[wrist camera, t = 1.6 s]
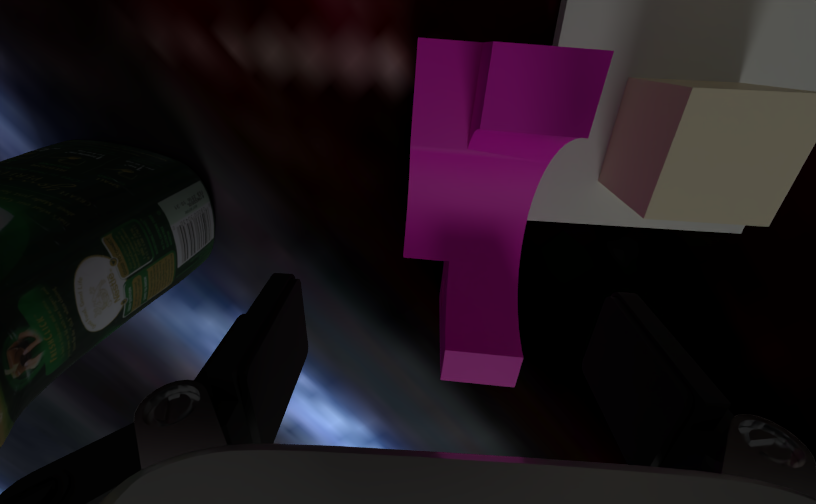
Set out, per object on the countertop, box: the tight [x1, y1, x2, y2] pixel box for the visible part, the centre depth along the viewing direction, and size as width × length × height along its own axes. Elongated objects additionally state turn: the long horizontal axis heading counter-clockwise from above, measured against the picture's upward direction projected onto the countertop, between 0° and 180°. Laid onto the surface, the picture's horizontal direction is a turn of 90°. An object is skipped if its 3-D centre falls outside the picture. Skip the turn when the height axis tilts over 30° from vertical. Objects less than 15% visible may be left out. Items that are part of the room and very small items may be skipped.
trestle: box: [527, 0, 816, 234], centre depth 14 cm, size 12×20×6 cm, turn 178°
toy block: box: [403, 37, 614, 387], centre depth 19 cm, size 15×6×8 cm, turn 176°
